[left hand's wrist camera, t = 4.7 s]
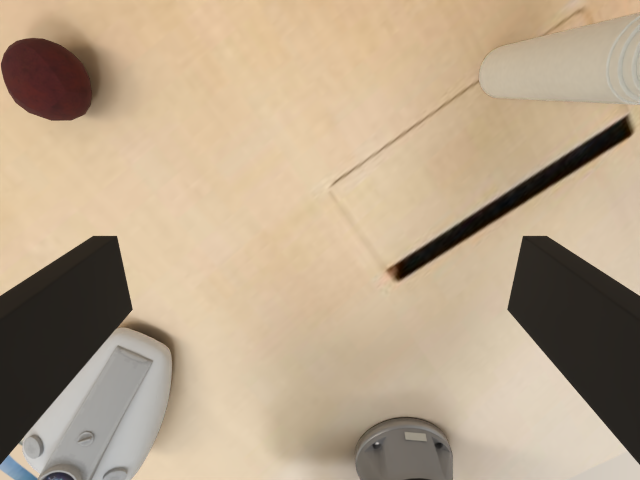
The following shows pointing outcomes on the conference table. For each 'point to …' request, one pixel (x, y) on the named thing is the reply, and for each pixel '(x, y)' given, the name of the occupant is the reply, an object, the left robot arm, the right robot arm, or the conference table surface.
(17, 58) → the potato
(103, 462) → the projector
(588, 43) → the bottle
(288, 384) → the conference table surface
